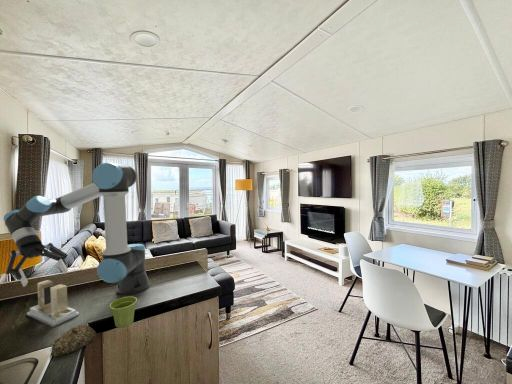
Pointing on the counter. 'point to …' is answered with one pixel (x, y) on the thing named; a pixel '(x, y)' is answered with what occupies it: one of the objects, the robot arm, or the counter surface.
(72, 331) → the bread roll
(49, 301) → the beech finger
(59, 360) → the counter surface
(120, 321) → the plant pot
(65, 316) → the base plate with posts
